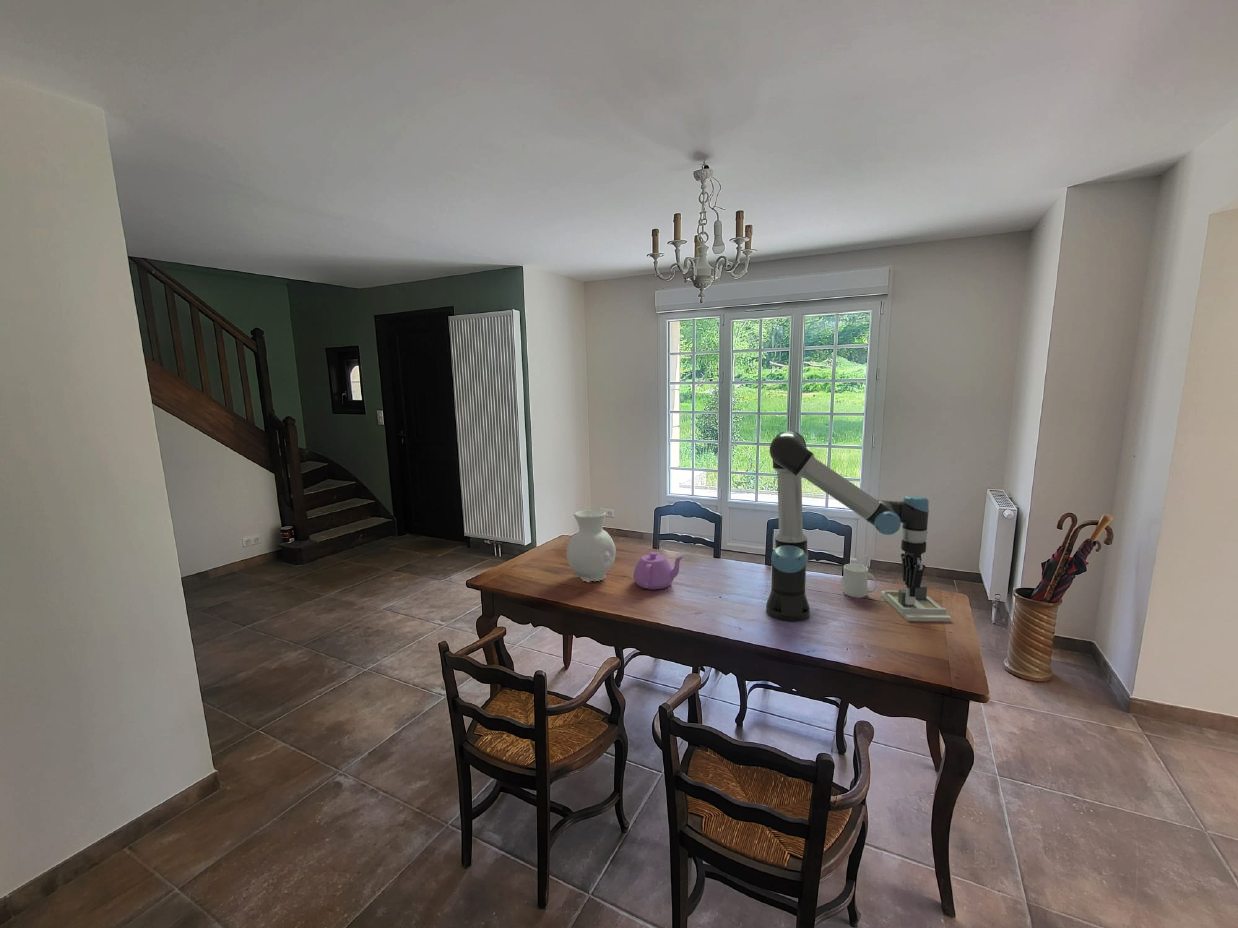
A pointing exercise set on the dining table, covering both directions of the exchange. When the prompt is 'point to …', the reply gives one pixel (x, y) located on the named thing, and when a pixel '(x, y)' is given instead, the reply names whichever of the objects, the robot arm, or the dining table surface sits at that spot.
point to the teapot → (655, 571)
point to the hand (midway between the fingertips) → (910, 603)
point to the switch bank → (917, 608)
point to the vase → (591, 546)
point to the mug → (856, 580)
